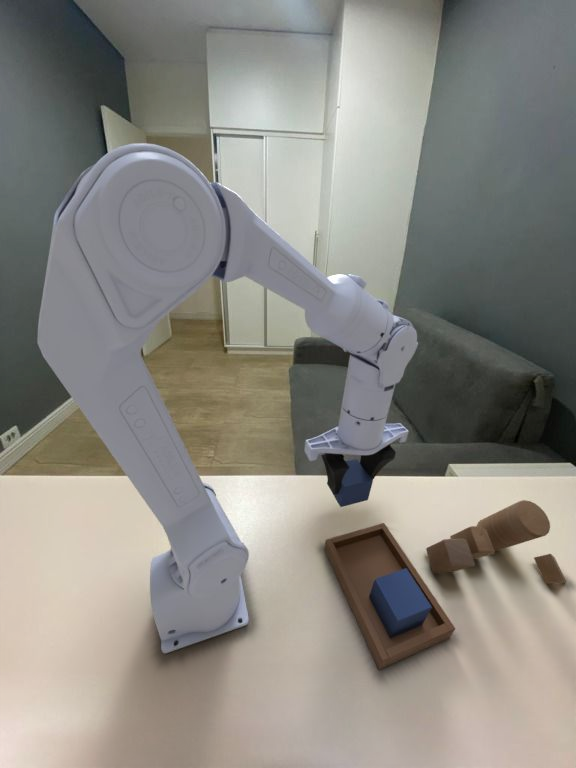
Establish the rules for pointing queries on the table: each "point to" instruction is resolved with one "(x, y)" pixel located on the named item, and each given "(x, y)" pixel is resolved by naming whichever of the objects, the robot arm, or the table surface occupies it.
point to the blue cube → (399, 602)
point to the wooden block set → (496, 540)
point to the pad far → (354, 485)
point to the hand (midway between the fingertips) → (348, 485)
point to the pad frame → (357, 574)
